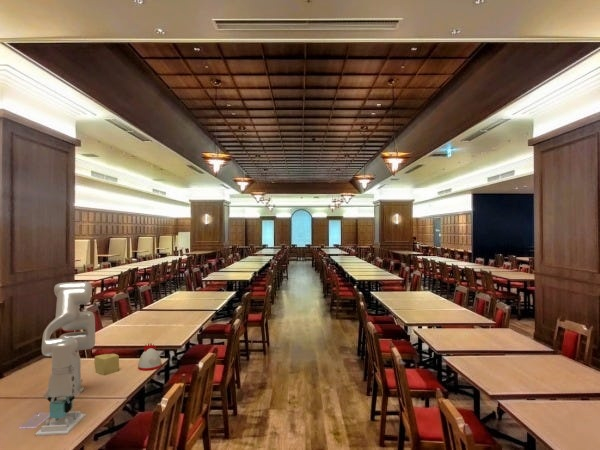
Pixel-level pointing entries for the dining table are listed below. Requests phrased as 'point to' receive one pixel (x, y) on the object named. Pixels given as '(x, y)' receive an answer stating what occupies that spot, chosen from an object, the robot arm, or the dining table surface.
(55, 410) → the teal rectangular block
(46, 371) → the dining table surface
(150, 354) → the kitchen timer
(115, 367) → the cheese
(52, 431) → the tray
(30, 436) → the dining table surface
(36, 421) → the mobile phone
